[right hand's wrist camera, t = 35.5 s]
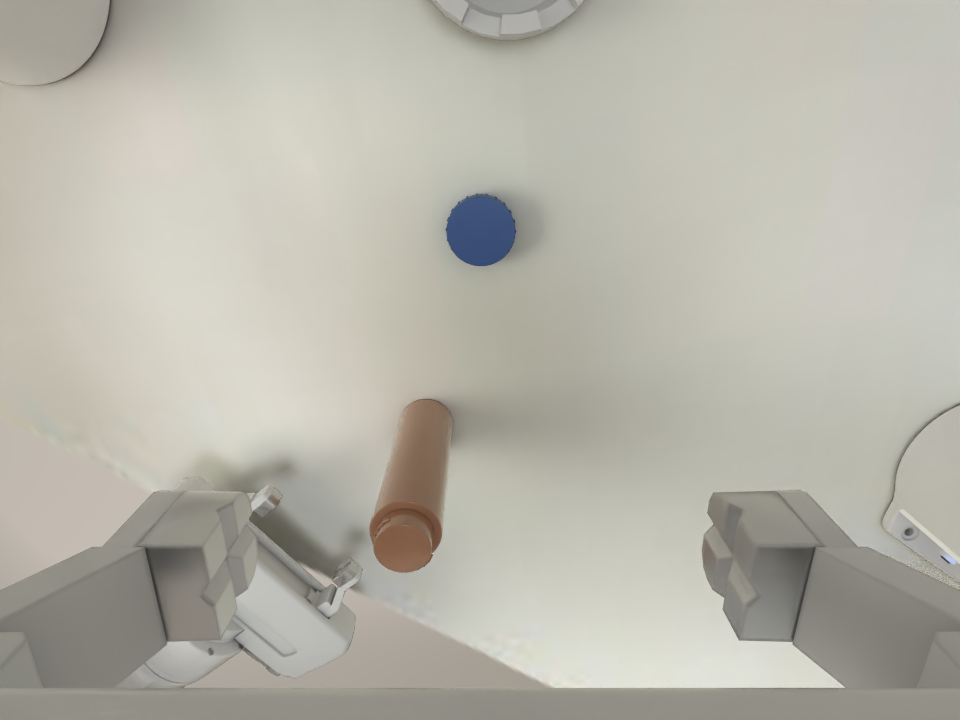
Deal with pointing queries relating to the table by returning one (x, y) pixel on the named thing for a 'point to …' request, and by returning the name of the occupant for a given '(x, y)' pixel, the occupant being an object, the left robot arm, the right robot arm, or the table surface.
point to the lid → (480, 230)
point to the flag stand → (507, 16)
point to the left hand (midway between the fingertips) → (316, 531)
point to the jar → (413, 489)
